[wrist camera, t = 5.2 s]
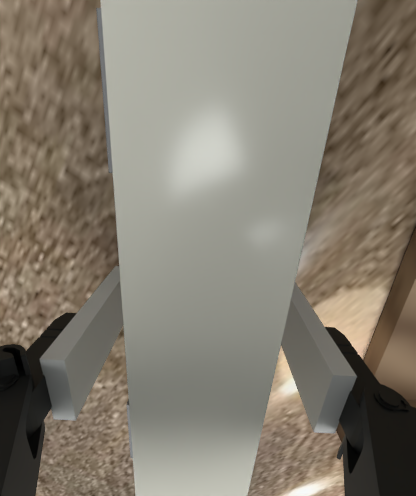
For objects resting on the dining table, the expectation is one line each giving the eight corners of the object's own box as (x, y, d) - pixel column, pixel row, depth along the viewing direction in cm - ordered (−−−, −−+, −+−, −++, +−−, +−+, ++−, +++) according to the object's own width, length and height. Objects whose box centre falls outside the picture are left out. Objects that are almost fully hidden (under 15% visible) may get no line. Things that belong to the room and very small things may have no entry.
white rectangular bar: (159, 33, 8) (90, -134, 3) (282, 42, 8) (380, -106, 3) (161, 454, 16) (141, 579, 11) (222, 457, 16) (227, 582, 11)
